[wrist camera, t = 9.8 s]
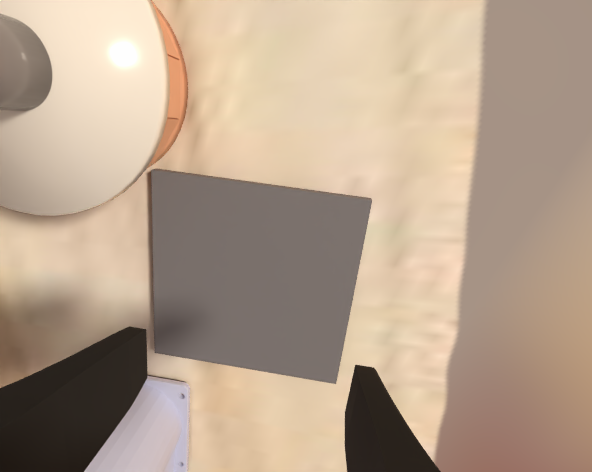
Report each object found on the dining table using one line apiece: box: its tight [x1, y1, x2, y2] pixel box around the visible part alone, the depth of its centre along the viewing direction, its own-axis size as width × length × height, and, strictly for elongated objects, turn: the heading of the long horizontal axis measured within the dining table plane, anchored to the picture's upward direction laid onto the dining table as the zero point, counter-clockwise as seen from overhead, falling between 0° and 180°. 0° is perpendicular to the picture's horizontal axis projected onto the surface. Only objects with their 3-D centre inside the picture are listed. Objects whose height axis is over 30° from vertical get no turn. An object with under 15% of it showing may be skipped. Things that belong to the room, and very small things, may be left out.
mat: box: [151, 169, 372, 384], centre depth 22 cm, size 13×13×1 cm
